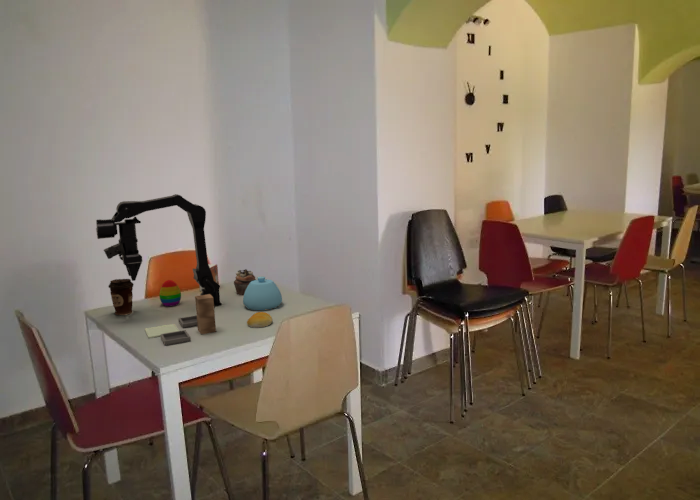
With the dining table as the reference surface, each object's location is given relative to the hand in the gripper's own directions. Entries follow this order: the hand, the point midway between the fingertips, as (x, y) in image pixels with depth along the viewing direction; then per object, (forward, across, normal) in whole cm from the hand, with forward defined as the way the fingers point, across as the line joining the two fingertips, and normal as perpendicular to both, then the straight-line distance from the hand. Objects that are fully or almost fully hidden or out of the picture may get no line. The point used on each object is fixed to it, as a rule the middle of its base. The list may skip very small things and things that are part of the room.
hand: (132, 278), depth 207 cm
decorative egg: (+15, -9, +14) cm, 23 cm away
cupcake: (+14, -10, +46) cm, 49 cm away
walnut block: (+15, +32, +19) cm, 40 cm away
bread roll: (+15, +34, +37) cm, 52 cm away
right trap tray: (+15, +21, +16) cm, 30 cm away
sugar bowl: (+15, +13, +45) cm, 49 cm away
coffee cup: (+15, -7, -4) cm, 17 cm away
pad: (+15, +24, +6) cm, 29 cm away
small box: (+14, -25, +34) cm, 44 cm away
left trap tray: (+15, +35, +8) cm, 39 cm away
